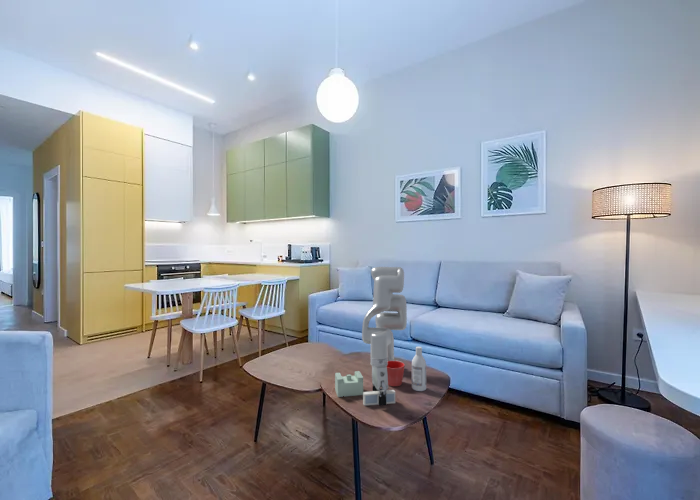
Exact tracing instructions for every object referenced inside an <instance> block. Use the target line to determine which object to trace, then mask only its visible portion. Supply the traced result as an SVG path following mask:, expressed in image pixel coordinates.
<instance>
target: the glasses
mask: <svg viewBox="0 0 700 500" xmlns="http://www.w3.org/2000/svg"><path fill="white" fill-rule="evenodd" d="M381 392H383V390H382V391H381ZM362 404H363V406H377V405H378V406H379V391H373V390H371V391H370V390H369V391H363V395H362ZM387 404H388V405H389V404H396V391H395V390H394V389H387V390H386V405H387Z"/></svg>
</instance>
